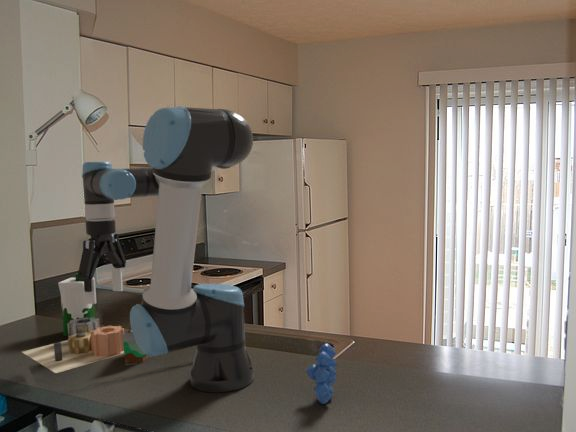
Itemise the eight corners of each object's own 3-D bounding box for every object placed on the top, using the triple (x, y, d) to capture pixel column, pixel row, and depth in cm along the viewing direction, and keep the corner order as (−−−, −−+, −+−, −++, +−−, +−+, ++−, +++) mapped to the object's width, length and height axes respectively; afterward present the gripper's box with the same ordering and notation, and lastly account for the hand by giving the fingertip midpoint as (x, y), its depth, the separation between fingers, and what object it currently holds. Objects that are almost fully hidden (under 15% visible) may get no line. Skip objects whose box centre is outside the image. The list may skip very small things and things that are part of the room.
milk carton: (86, 341, 166) (82, 276, 164) (58, 341, 167) (53, 276, 165) (100, 332, 175) (96, 270, 173) (73, 332, 176) (69, 270, 174)
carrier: (142, 353, 154) (141, 332, 153) (56, 379, 137) (54, 355, 136) (102, 336, 171) (101, 316, 170) (21, 357, 154) (19, 335, 154)
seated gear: (105, 339, 162) (104, 319, 162) (79, 347, 156) (78, 326, 155) (89, 334, 168) (88, 315, 167) (63, 342, 161) (62, 322, 160)
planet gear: (128, 352, 151) (127, 330, 150) (96, 359, 146) (95, 336, 146) (119, 344, 158) (118, 323, 157) (89, 350, 153) (88, 329, 153)
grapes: (313, 386, 127) (311, 336, 126) (342, 389, 125) (340, 337, 124) (300, 408, 116) (298, 353, 115) (332, 411, 114) (330, 355, 113)
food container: (148, 372, 140) (145, 333, 139) (124, 372, 140) (121, 334, 139) (160, 355, 152) (158, 319, 151) (138, 355, 152) (136, 320, 151)
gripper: (112, 214, 161) (116, 285, 163) (59, 225, 137) (64, 308, 139) (135, 214, 159) (139, 286, 162) (86, 225, 135) (91, 309, 138)
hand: (105, 297), depth 150 cm, fingers open, 13 cm apart
